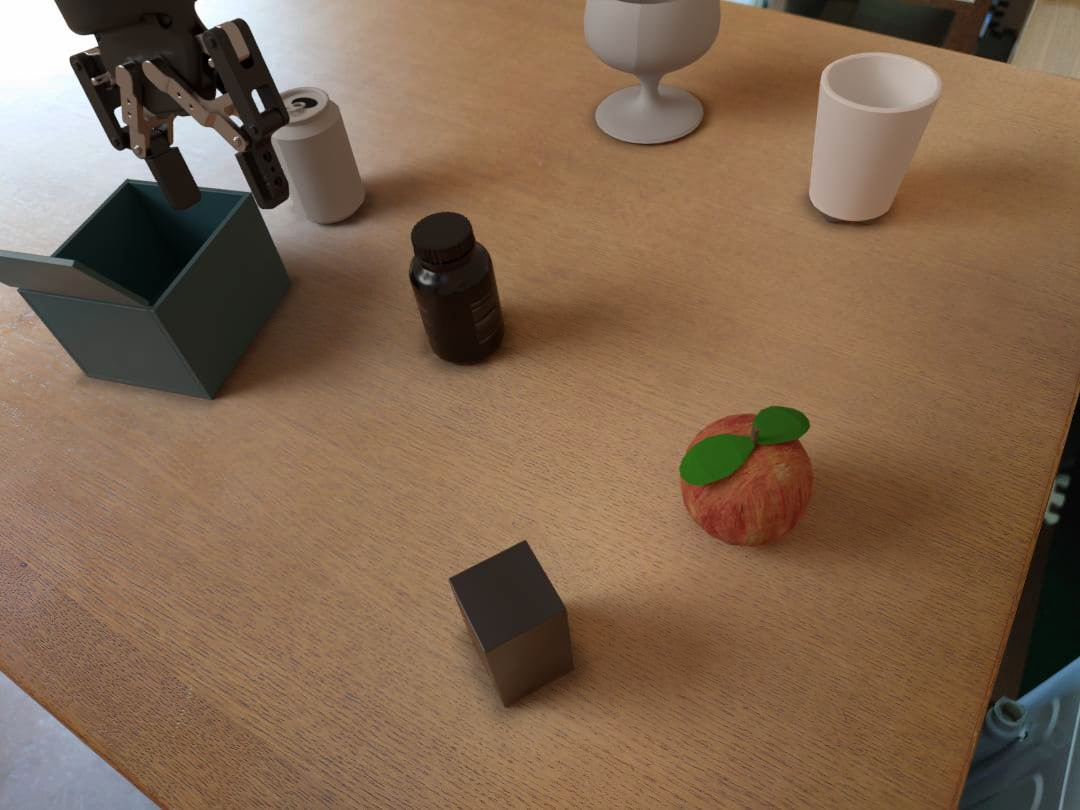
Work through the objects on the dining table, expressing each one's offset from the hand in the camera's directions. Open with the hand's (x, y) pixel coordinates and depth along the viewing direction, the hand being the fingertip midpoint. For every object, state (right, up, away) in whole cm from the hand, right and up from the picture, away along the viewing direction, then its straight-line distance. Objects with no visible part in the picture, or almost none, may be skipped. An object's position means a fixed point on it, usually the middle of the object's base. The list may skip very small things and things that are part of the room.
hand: (231, 205), depth 51 cm
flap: (-16, -4, +5) cm, 17 cm away
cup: (+50, +6, +25) cm, 57 cm away
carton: (-12, -6, +21) cm, 25 cm away
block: (+19, -29, -1) cm, 35 cm away
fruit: (+34, -21, +4) cm, 41 cm away
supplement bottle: (+14, -7, +18) cm, 24 cm away
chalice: (+33, +20, +37) cm, 53 cm away
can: (-2, +8, +32) cm, 33 cm away
